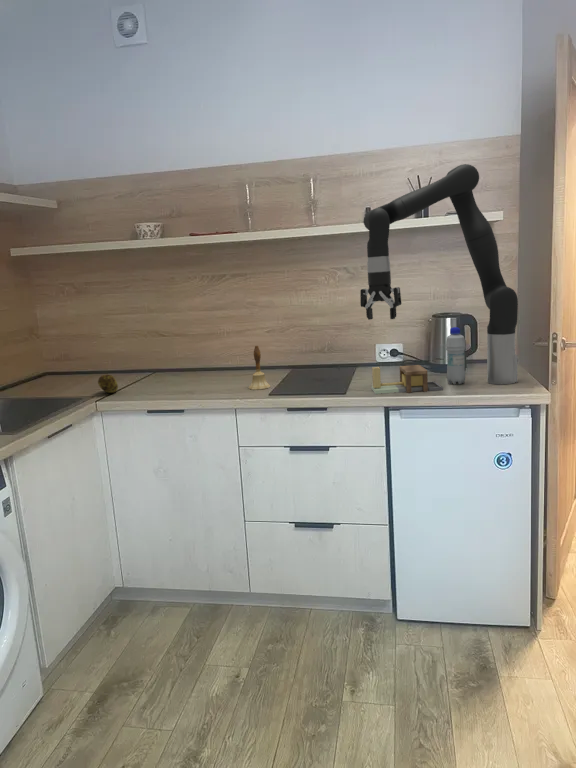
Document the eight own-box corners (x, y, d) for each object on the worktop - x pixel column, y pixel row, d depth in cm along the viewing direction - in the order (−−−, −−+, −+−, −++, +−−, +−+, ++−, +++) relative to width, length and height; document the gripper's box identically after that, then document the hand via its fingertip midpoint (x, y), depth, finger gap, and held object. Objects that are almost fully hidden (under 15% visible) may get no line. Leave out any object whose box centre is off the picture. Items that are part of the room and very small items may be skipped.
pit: (434, 384, 225) (434, 381, 224) (442, 390, 214) (442, 387, 214) (421, 385, 224) (421, 382, 224) (428, 391, 214) (428, 388, 214)
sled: (421, 382, 221) (421, 363, 220) (425, 385, 217) (424, 365, 215) (372, 385, 221) (371, 366, 220) (374, 388, 216) (373, 369, 215)
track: (422, 385, 223) (422, 382, 223) (427, 390, 215) (427, 386, 215) (371, 389, 223) (371, 385, 223) (375, 393, 215) (375, 390, 215)
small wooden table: (419, 384, 225) (419, 364, 224) (427, 391, 213) (427, 370, 212) (400, 386, 225) (399, 366, 224) (407, 393, 213) (406, 372, 212)
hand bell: (245, 387, 241) (242, 346, 238) (266, 384, 244) (263, 343, 241) (252, 391, 234) (249, 348, 231) (273, 388, 237) (270, 345, 234)
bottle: (452, 386, 219) (451, 328, 216) (442, 382, 226) (441, 327, 222) (469, 384, 221) (469, 327, 217) (459, 380, 227) (458, 325, 224)
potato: (125, 389, 253) (123, 369, 251) (114, 396, 240) (111, 375, 239) (105, 390, 254) (103, 370, 252) (93, 397, 241) (90, 376, 240)
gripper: (403, 268, 209) (405, 317, 212) (365, 271, 217) (368, 318, 221) (392, 270, 203) (395, 320, 206) (354, 272, 212) (357, 320, 215)
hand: (381, 319), depth 213 cm, fingers open, 8 cm apart
